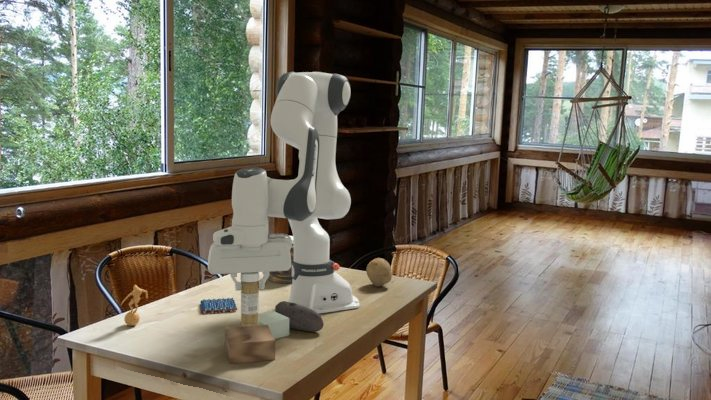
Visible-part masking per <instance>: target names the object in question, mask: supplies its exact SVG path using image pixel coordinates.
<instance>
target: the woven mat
mask: <svg viewBox="0 0 711 400" xmlns="http://www.w3.org/2000/svg"><path fill="white" fill-rule="evenodd" d="M200 309H201V310H200V311H201V314H203V315H206V314H210V313H211V314H217V313H218V314H222V312H223V314H224V313H229V312H230V313H233V312H234V313H236V312H237V311H238V308H237V305H236V302H235V299H234V297H232V298H231V297H230V298H229V297H227V298H224V297H222V298H218V299H217V298H211V299H210V298H208V299H202V300H200Z"/></svg>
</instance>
